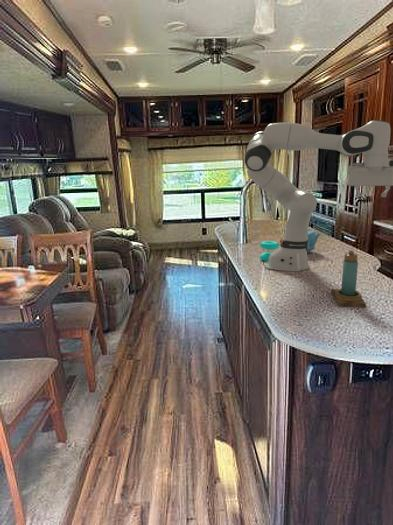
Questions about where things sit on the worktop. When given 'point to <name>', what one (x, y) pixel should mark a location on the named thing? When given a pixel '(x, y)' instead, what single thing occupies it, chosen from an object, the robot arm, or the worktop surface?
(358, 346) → the worktop surface
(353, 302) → the base
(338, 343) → the worktop surface
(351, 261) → the pepper mill
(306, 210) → the robot arm
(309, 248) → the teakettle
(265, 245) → the donuts
